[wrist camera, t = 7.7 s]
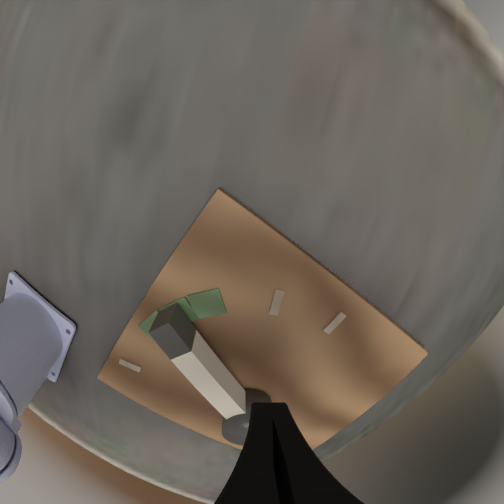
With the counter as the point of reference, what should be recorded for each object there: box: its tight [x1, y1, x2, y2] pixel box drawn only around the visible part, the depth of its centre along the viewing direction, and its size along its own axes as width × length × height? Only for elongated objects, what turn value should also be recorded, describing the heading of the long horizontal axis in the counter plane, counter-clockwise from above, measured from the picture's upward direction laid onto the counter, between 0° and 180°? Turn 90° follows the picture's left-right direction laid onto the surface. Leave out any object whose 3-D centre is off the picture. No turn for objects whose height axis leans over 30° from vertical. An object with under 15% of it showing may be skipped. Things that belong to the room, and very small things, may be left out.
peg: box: [148, 303, 272, 446], centre depth 19 cm, size 13×4×3 cm, turn 29°
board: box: [97, 187, 428, 450], centre depth 21 cm, size 19×22×1 cm
